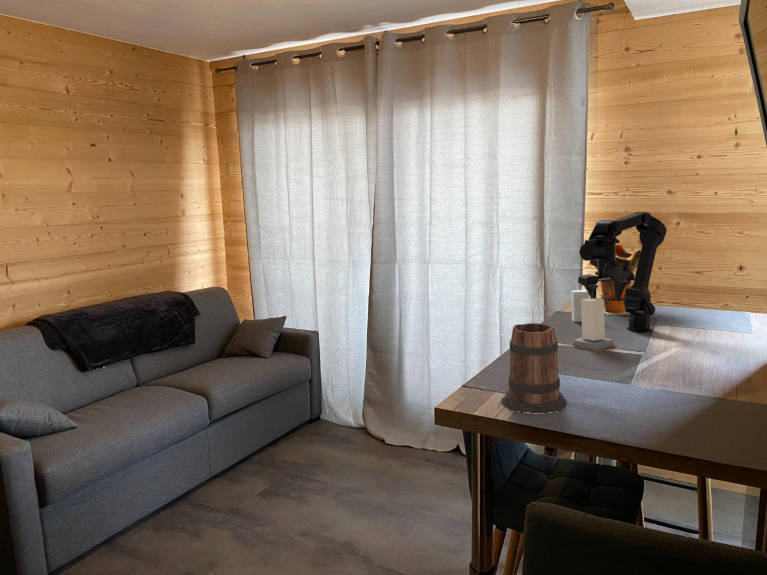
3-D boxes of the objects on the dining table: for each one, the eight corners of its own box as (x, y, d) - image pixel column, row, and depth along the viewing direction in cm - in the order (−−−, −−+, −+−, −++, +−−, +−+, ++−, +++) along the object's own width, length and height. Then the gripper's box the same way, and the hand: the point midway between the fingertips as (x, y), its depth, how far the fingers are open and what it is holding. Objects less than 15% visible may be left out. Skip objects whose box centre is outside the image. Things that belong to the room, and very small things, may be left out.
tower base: (586, 345, 208) (586, 339, 208) (617, 350, 200) (617, 344, 200) (569, 352, 201) (569, 346, 201) (599, 358, 193) (599, 352, 192)
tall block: (593, 336, 203) (591, 298, 202) (604, 338, 199) (603, 299, 198) (582, 338, 201) (581, 299, 200) (594, 340, 196) (592, 300, 195)
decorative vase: (609, 318, 238) (608, 247, 235) (579, 310, 261) (577, 244, 257) (656, 313, 242) (656, 243, 239) (622, 305, 265) (622, 241, 261)
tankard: (561, 418, 146) (561, 337, 143) (493, 409, 154) (491, 333, 150) (577, 386, 167) (577, 315, 163) (516, 380, 174) (515, 312, 171)
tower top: (588, 340, 206) (588, 334, 206) (613, 345, 199) (613, 339, 199) (573, 345, 201) (573, 340, 200) (597, 350, 194) (597, 344, 194)
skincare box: (586, 319, 241) (587, 289, 239) (589, 321, 237) (589, 291, 235) (571, 319, 241) (571, 290, 239) (573, 322, 237) (573, 292, 235)
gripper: (597, 262, 196) (596, 309, 199) (646, 257, 201) (645, 303, 204) (577, 258, 207) (577, 303, 209) (624, 254, 212) (623, 298, 214)
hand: (606, 302), depth 209 cm, fingers open, 9 cm apart
